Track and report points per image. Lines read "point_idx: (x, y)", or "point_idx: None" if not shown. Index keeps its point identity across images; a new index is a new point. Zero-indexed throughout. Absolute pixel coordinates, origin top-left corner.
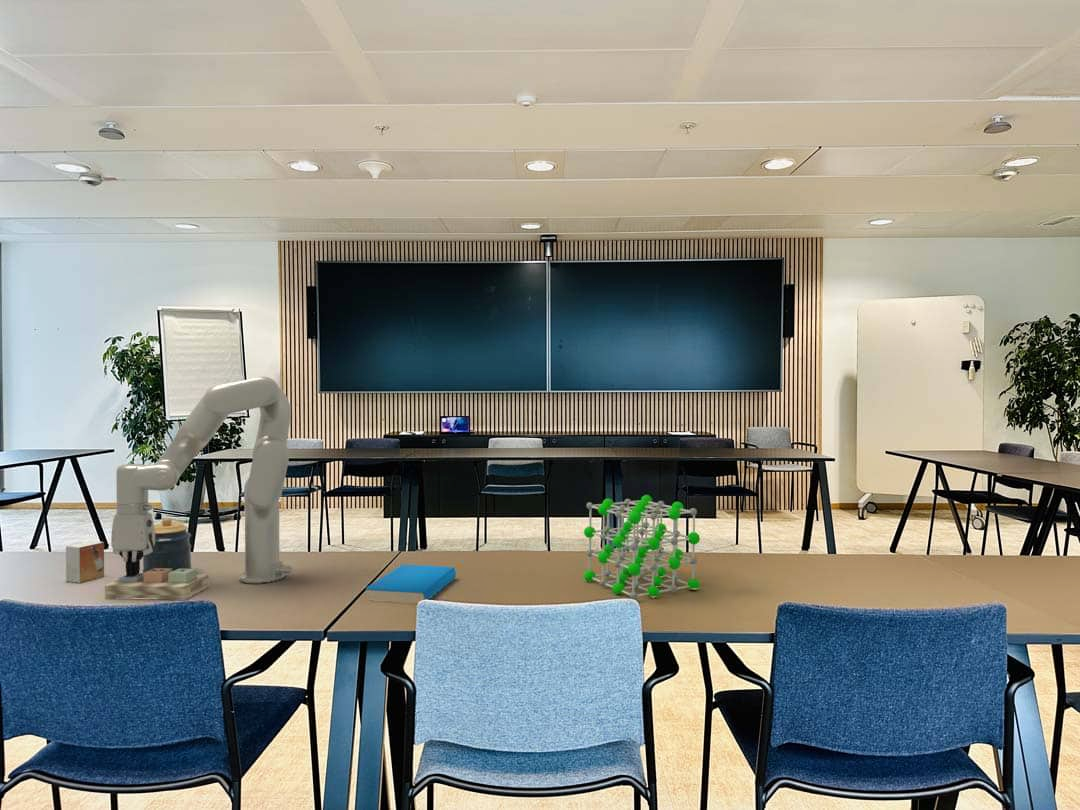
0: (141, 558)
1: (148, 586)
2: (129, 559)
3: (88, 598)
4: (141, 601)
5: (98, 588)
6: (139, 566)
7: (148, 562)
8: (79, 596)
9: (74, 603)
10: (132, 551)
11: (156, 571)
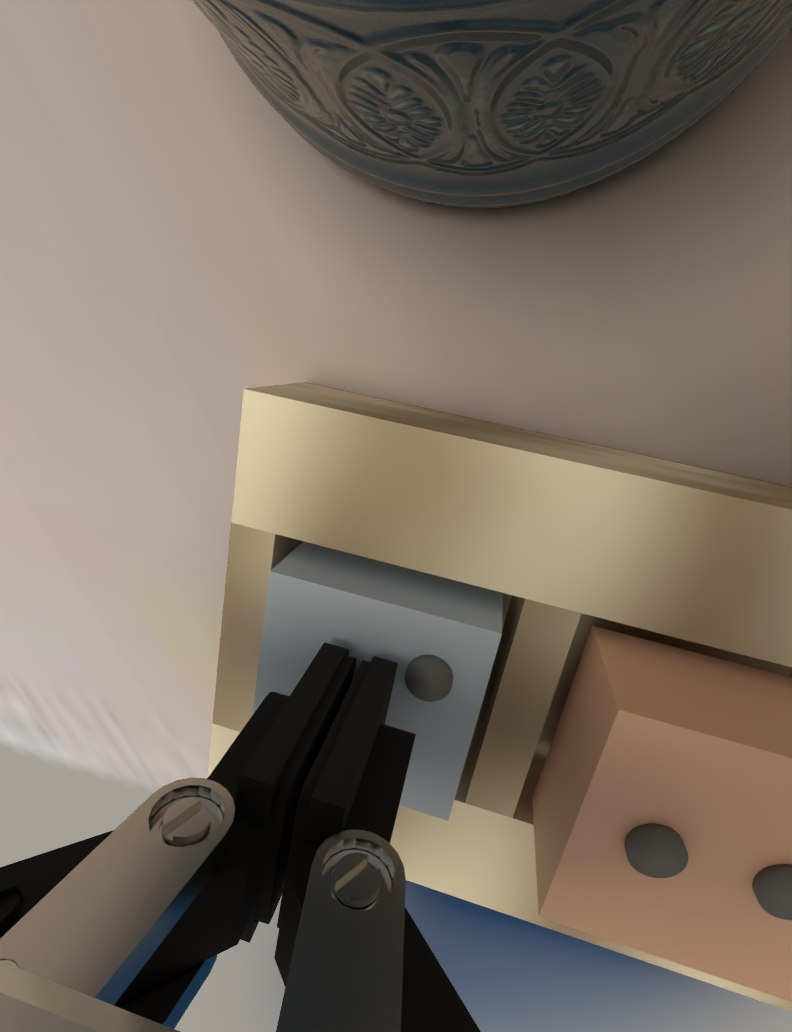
0: (402, 881)
1: (639, 958)
2: (231, 938)
3: (140, 687)
4: None
5: (43, 420)
6: (404, 780)
7: (281, 70)
8: (50, 623)
9: (123, 775)
10: (125, 972)
11: (708, 904)
